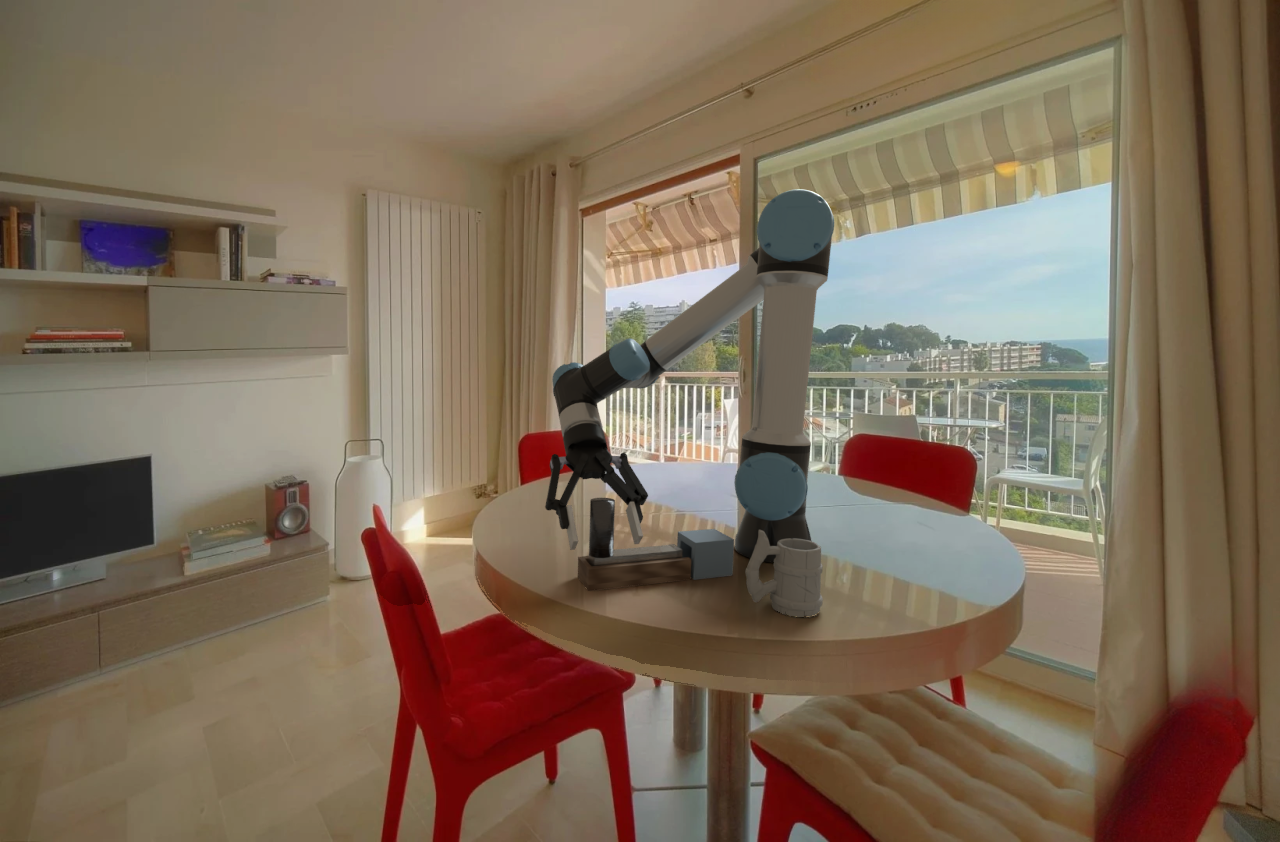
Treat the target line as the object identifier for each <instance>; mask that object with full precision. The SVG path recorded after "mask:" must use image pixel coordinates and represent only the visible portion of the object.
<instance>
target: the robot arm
mask: <svg viewBox="0 0 1280 842" xmlns="http://www.w3.org/2000/svg"><path fill="white" fill-rule="evenodd" d="M834 217H835V216H834V214H833V211H832V209H831V208H830V206H829V204H828V202H827V201H826V200H825V199H824V198H823V197H822V196H821V195H820V194H818V193H816V192H815V191H811V190H807V189H803V188H802V189H799V188H797V189H791V190H787V191H784V192H781V193H780V194H777V195H776V196H774V197H773V198H772V199H771V200H769V202H768V203H767V204H766V205H765V206H764V208H763V209H762V211H761V212H760V215H759V218H758V222H757V226H756V227H757V228H756V234H757V235H756V236H757V241H758V243H759V246H758V248H756V250H755V251H753V252H752V253H751V254H749V255H748V257H747V262H746V264H745V265H744V266H742V267H741V268H740V269H738V270H737V271H736V272H734V273H733V274H732V275H730V276H729V277H727V278H726V279H725V280H724V281H722V282H721V283H720V284H718V285H717V286H715V288H713V289H712V290H710V291H709V292H708V293H707V294H705V295H704V296H702V297H701V298H700V299H698V300H697V301H696V302H695V303H693V304H692V305H691V306H690V307H688V308H687V309H686V310H684V311H683V312H682V313H680V314H679V315H678V316H677V317H675V318H674V319H672V320H671V321H670V322H668V323H667V324H665V325H664V326H663V327H661V329H659V330H658V331H656V332H655V333H654V334H652V335H651V336H650V337H649V338H647V339H646V340H645V341H644V342H643V343H641V344H640V343H639V342H637V341H636V340H635V339H634V338H626V339H623V341H620V342H618V343H615V344H614V345H612V346H611V347H610V348H609V349H607V350H605V351H604V352H603V353H601V354H600V355H598V356H597V357H595V358H593V359H592V360H591V361H589V362H587V363H585V364H582V363H580V362H570V363H567V364H565V363H564V364H562V365H560V366H559V367H557V369H555V371H554V373H553V375H552V381H551V382H552V386H553V387H552V393H553V397H554V399H555V400H554V401H555V404H556V409H557V413H558V419H559V424H560V425H559V426H560V430H561V435H562V441H563V446H564V451H565V456H559V455H558V454H557V453H553V454H552V455H551V457H550V458H551V459H550V461H549V469H550V479H549V485H548V491H547V495H546V500H545V506H544V508H545V510H547V511H552V510H553V511H555V515H557V516H558V523H559V526H560V529H562V530H566V533H567V539H568V545H569V550H571V551H572V550H575V551H576V548H577V546H578V544H579V536H578V532H577V527H576V526H577V525H576V522H575V520H576V519H575V516H574V510H573V506H572V504H568V503H569V501H570V499H571V497H572V495H573V492H574V490H575V488H576V486H577V484H578V482H579V479H580V478H581V479H582V480H589V479H594V480H599V479H600V480H601V481H602V483H605V484H607V485H608V486H609V487H610V488H611V489H612V491H613V492H614V493H616V495H617V496H618V497H619V498H620V499H621V500H622V502H624V503H625V504H626V506H627V507H626V509H625V514H626V516H627V520H628V525H629V529H630V532H631V535H632V541H633V545H640V542H641V541H642V539H643V537H644V534H643V529H642V526H641V523H642V522H643V520H644V519H643V518H644V515H643V512H642V508H641V506H643V505H645V503H646V501H647V499H648V497H649V493H648V492H647V490H646V489H645V487H644V486H643V484H642V482H641V481H640V479H639V477H638V476H637V475H636V474H637V473H635V471H634V469H633V467H632V466H631V465H630V463H629V459H628V455H627V454H626V453H625V452H622V453H620V455H612V454H611V452H610V451H609V450H608V445H607V444H608V443H607V439H606V436H605V432H604V429H603V424H602V423H603V422H602V420H601V416H600V413H599V408H598V404H599V403H600V402H602V401H604V400H606V399H607V398H609V397H610V396H612V395H613V394H615V393H617V392H618V391H620V390H622V389H645V388H648V387H651V386H653V384H655V383H656V382H657V380H658V379H659V378H660V376H661V375H663V374H664V373H665V372H666V371H668V370H669V369H670V368H671V367H673V366H674V365H676V364H677V363H678V362H680V361H681V360H683V359H684V358H686V356H688V355H689V354H691V353H692V352H694V351H695V350H697V349H698V348H699V347H701V346H702V345H703V344H706V342H708V341H709V340H710V339H712V338H713V337H714V336H716V335H717V334H719V333H720V332H722V331H723V330H724V329H725V328H726V327H728V326H729V325H732V324H733V322H735V321H737V320H738V319H740V318H741V317H742V316H743V315H745V314H746V313H748V312H749V311H750V310H752V309H753V308H755V307H756V306H757V305H759V304H760V303H763V304H762V311H761V312H762V314H761V324H760V334H759V335H760V337H759V346H758V357H757V359H758V360H757V368H756V369H757V370H756V379H755V390H754V400H753V413H752V423H751V424H752V425H751V428H750V429H749V430H747V432H744V434H742V437H741V446H740V447H741V449H740V455H739V456H740V457H739V459H740V460H739V467H738V469H737V470H736V473H735V475H734V489H735V495H736V498H737V499H738V502H739V503H740V505H741V506H742V507H743V508H744V514H743V517H742V519H741V521H740V524H739V526H738V527H739V528H738V529H737V532H736V535H735V536H734V550H735V551H736V552H737V553H738V554H740V555H742V556H743V557H746V558H749V559H750V558H751V556H752V554H753V551H754V548H755V545H756V544H757V540H758V532H759V530H762V531H764V532H765V534H766V536H767V538H768V540H769V544H770V546H777V542H778V541H779V540H782V539H789V538H791V539H794V538H796V539H803V540H809V541H812V537H811V532H810V528H809V525H808V522H807V517H806V511H807V497H808V479H809V477H808V476H809V475H808V474H809V467H810V456H811V446H812V441H810V440H809V438H808V437H807V436H806V435H805V434H804V422H805V412H806V403H807V392H808V383H809V373H810V372H809V371H810V361H811V353H812V352H811V351H812V343H813V335H814V334H813V333H814V322H815V314H816V313H815V312H816V302H817V292H818V290H819V289H820V288H821V287H822V286H823V285H824V284H825V283H826V282H828V279H829V278H828V275H829V268H830V261H831V260H830V259H831V250H832V241H833V239H832V237H833V234H834V230H835V218H834ZM611 464H613V465H614V467H615V468H614V467H613V466H612V465H611ZM564 465H565V466H567V468H568V469H569V470H571V471H572V474H571V477H570V478H569V480H568V482H567V485H566V486H565V489H564V491H563V493H562V495H561V497H560V499H557V498H556V496H557V491H558V484H559V480H560V473H561V470H563V467H564ZM615 469H616V470H618V472H619V474H620V476H621V477H620V476H619V475H618V474H617V472H616V471H615ZM775 558H776V555H767V556H766V558H765V559H764V561H763V562H766V563H772V562H774V559H775Z"/></svg>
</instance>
